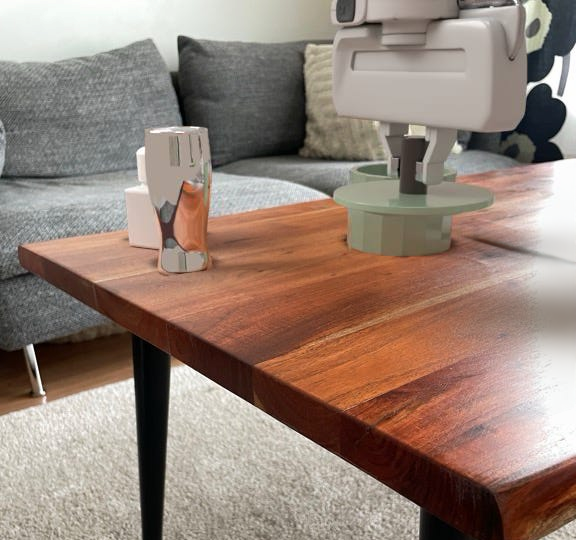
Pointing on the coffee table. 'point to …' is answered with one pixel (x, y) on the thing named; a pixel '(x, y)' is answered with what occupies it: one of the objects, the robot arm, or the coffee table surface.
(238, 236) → the coffee table surface
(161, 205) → the beer glass
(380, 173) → the tin
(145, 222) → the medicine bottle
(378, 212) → the lid
